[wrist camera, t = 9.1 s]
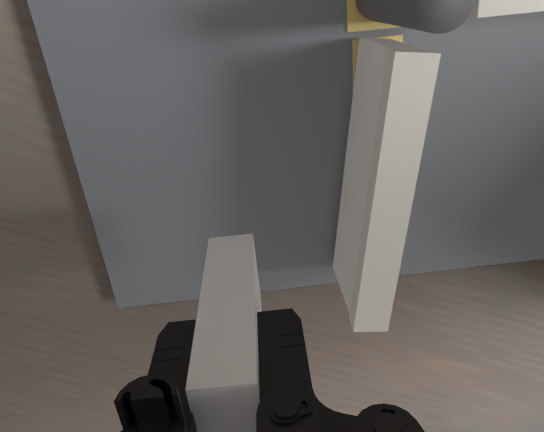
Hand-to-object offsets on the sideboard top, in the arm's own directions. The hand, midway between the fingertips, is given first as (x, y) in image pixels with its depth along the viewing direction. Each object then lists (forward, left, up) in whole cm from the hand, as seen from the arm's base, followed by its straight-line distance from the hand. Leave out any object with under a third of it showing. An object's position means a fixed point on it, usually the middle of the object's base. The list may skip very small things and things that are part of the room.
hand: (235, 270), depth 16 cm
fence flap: (-6, -1, -5) cm, 8 cm away
